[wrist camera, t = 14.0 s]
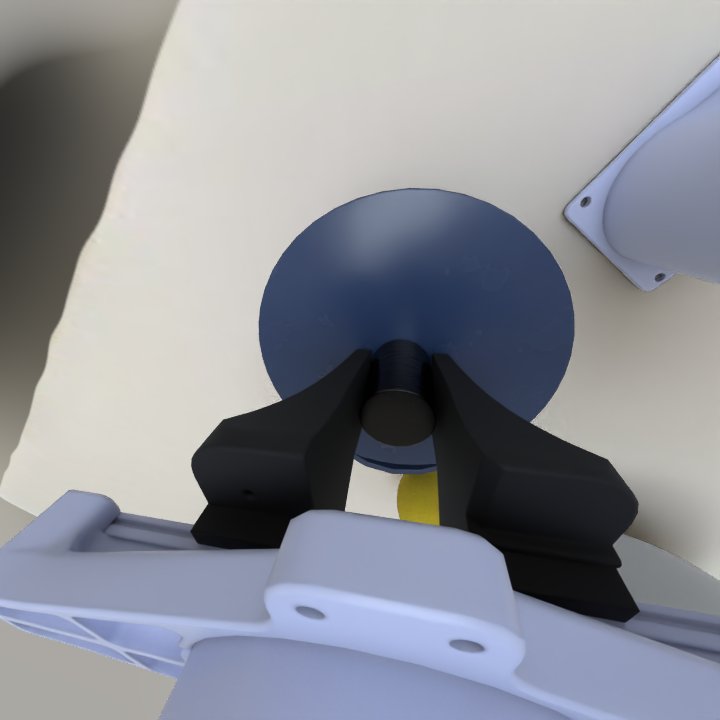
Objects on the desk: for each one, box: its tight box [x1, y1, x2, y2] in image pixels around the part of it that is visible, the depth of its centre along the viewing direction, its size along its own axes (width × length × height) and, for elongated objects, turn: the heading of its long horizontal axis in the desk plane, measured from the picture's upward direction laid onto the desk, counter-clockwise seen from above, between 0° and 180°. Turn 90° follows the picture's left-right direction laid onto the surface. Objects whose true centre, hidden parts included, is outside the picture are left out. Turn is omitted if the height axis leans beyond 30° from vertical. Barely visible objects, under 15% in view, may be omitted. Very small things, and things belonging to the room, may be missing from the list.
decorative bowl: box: [613, 534, 720, 616], centre depth 28 cm, size 27×27×12 cm
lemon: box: [397, 471, 439, 526], centre depth 26 cm, size 6×6×8 cm
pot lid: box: [259, 188, 574, 465], centre depth 11 cm, size 13×13×5 cm
